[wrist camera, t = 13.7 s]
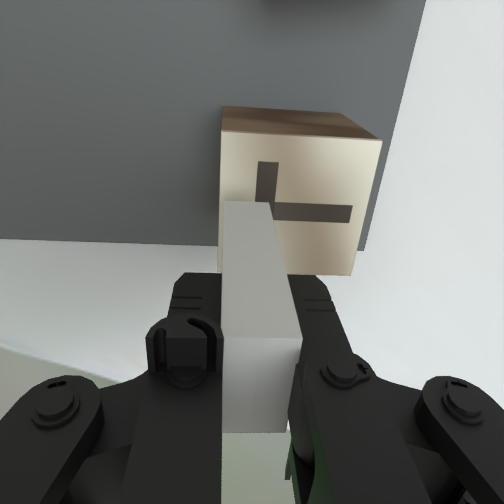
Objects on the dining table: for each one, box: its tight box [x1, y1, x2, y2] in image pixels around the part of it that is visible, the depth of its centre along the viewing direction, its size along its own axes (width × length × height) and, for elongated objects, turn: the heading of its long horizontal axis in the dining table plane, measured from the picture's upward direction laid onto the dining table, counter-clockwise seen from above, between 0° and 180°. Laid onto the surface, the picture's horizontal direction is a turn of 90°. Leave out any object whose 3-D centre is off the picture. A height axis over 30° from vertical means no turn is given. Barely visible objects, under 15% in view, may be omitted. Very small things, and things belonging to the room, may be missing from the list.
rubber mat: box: [0, 0, 426, 251], centre depth 18 cm, size 24×20×1 cm
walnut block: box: [217, 106, 383, 276], centre depth 18 cm, size 6×6×6 cm
